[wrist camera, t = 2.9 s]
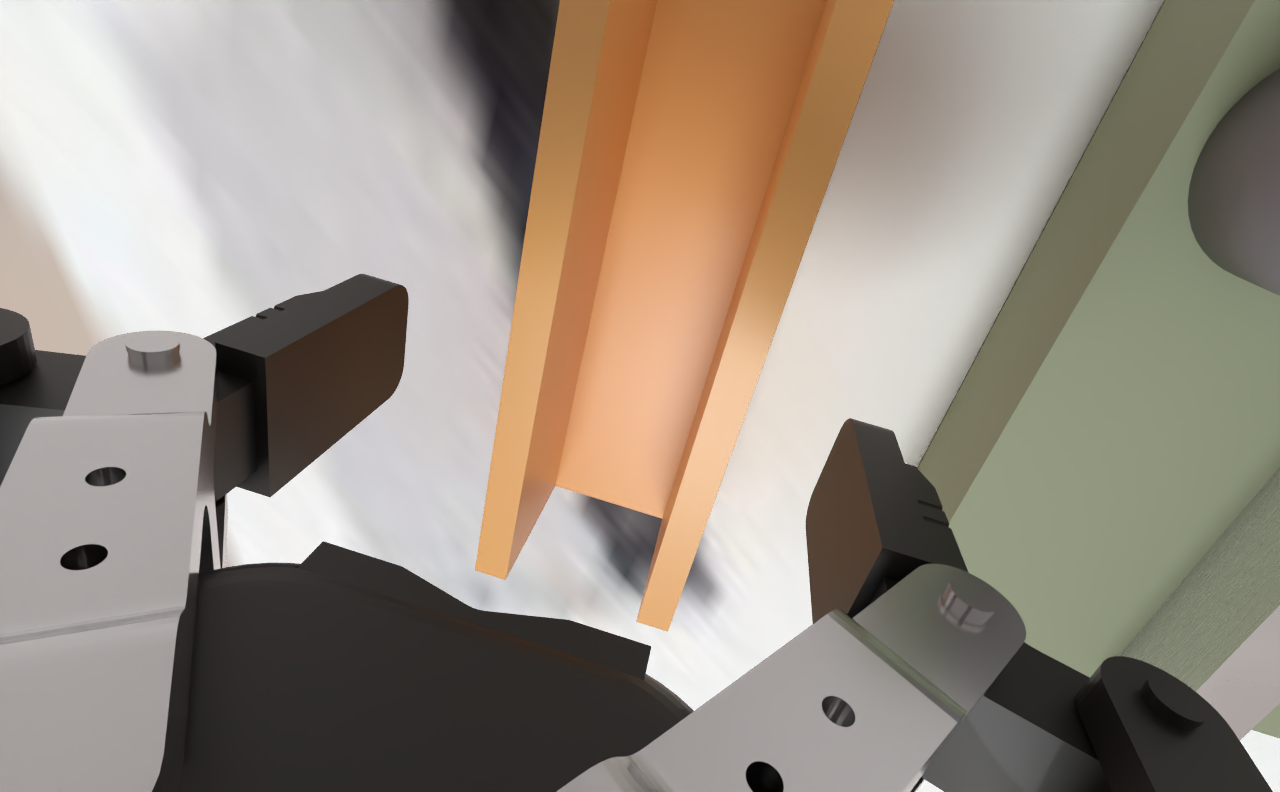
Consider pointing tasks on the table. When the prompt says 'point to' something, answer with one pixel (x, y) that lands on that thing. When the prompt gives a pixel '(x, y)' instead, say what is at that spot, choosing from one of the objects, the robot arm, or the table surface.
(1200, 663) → the chute cradle
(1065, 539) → the marble run board
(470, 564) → the table surface
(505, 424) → the discharge chute
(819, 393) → the table surface
